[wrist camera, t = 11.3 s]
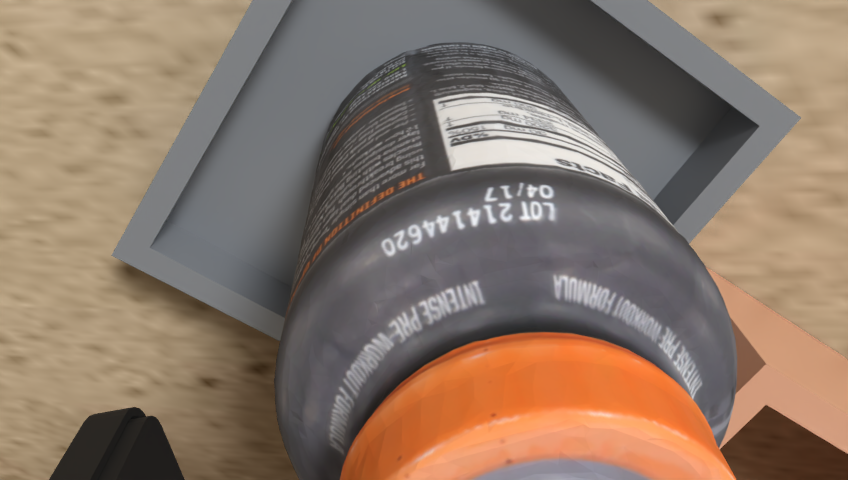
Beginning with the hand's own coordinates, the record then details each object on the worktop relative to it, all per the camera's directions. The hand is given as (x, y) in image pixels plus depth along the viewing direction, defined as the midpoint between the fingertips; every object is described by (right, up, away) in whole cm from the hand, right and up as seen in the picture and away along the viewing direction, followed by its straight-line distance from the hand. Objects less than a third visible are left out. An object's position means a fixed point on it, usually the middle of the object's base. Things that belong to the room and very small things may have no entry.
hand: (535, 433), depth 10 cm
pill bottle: (-1, +4, +8) cm, 9 cm away
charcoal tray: (-1, +4, +8) cm, 9 cm away
